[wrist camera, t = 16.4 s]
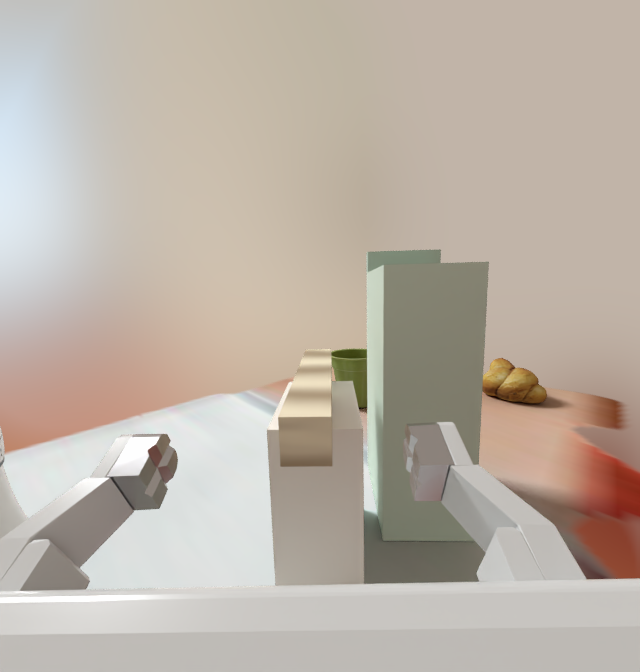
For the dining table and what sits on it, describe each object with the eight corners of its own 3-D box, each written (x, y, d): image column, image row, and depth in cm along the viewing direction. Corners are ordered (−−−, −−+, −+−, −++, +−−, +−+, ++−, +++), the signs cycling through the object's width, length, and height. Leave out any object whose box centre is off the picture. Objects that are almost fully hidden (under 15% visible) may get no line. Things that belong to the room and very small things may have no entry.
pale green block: (474, 541, 31) (490, 231, 27) (382, 540, 32) (383, 235, 27) (431, 463, 45) (436, 251, 41) (367, 464, 45) (366, 253, 41)
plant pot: (387, 397, 73) (387, 349, 71) (376, 416, 62) (376, 360, 61) (339, 392, 77) (338, 346, 76) (321, 409, 67) (319, 357, 65)
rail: (332, 466, 18) (331, 416, 18) (280, 466, 18) (278, 417, 18) (331, 373, 38) (331, 349, 37) (306, 374, 38) (306, 349, 38)
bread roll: (555, 403, 67) (558, 366, 66) (527, 412, 63) (530, 372, 61) (497, 387, 78) (499, 355, 77) (470, 393, 74) (472, 360, 73)
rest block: (364, 608, 25) (363, 428, 23) (276, 606, 25) (266, 429, 23) (354, 505, 37) (352, 381, 35) (294, 505, 37) (289, 381, 35)
